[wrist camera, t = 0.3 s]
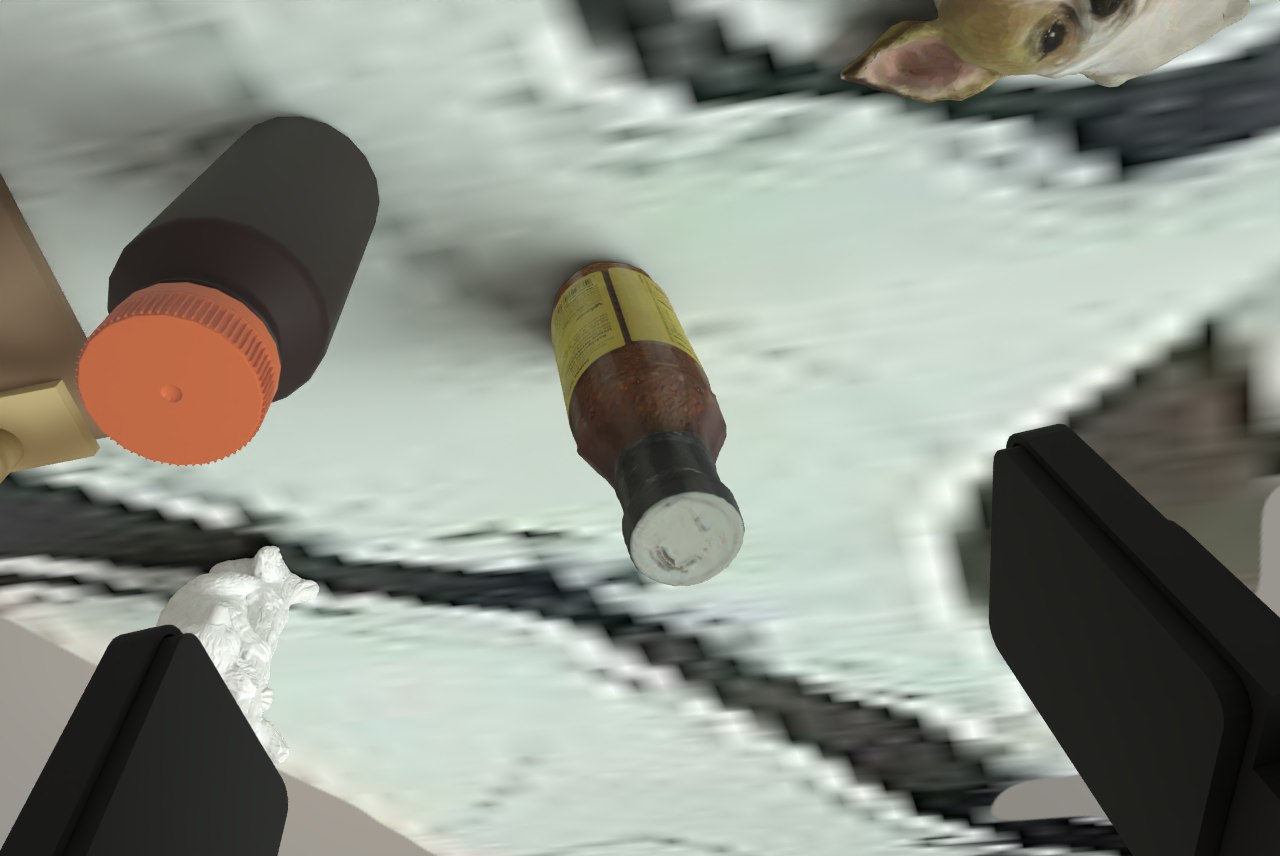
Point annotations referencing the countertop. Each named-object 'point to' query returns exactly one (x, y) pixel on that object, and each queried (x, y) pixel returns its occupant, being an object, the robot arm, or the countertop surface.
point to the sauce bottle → (646, 421)
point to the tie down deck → (37, 357)
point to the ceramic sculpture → (1035, 43)
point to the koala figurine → (242, 628)
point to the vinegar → (230, 294)
